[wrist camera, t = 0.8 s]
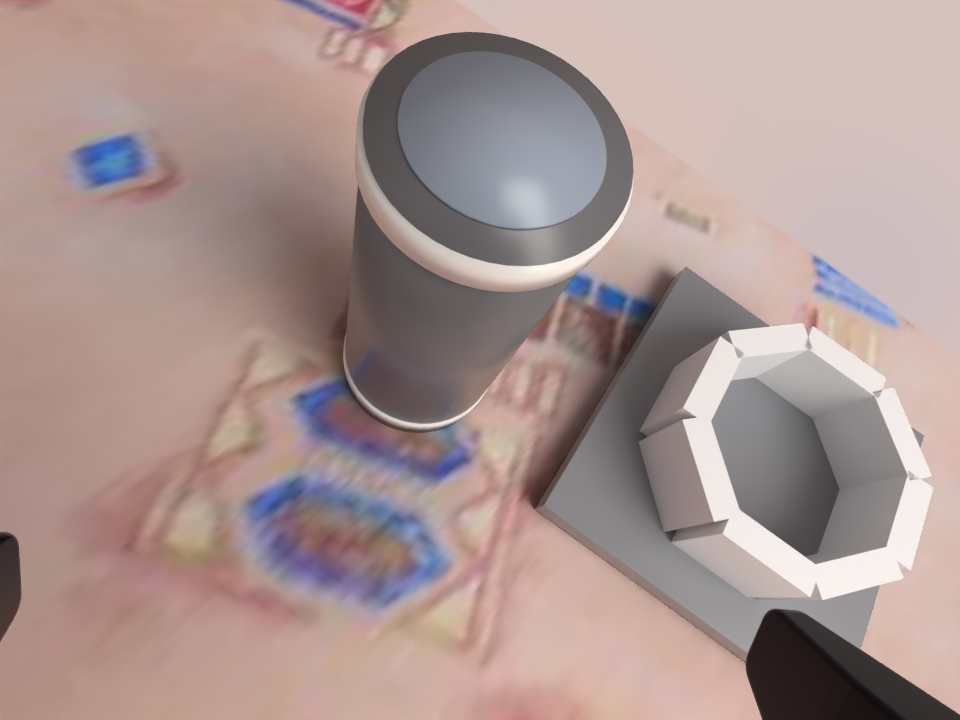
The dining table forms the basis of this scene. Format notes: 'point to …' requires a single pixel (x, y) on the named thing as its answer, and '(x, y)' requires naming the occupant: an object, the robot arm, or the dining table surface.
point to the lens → (471, 217)
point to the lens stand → (745, 472)
